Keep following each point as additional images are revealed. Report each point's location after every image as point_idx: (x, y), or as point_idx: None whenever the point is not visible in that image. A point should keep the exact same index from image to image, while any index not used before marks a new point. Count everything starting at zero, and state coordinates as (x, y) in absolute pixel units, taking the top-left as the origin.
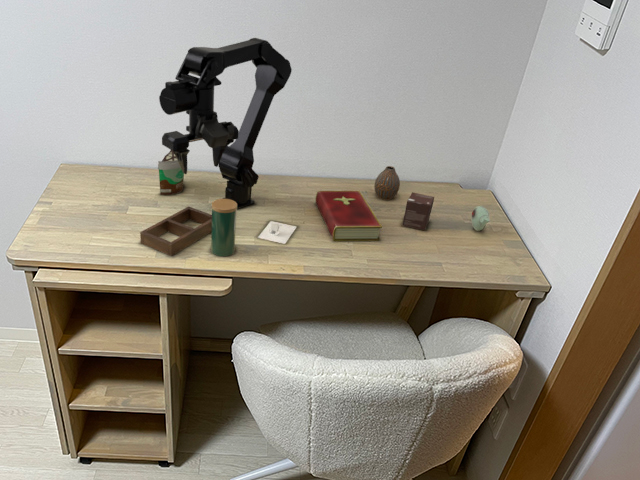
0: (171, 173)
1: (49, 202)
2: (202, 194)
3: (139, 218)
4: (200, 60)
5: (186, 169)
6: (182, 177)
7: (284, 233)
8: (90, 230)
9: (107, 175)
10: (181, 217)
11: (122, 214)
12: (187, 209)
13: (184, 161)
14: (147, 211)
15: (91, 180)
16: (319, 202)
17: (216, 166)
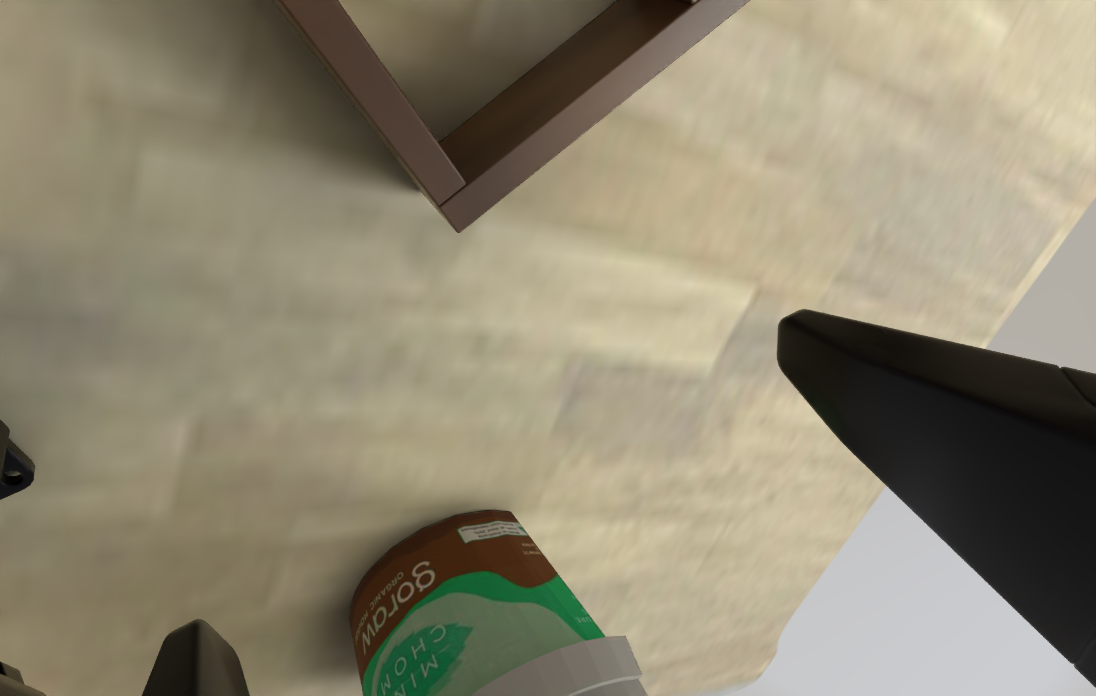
0: (512, 635)
1: None
2: (222, 546)
3: (726, 223)
4: None
5: (862, 340)
6: (392, 651)
7: None
8: (969, 122)
9: (662, 643)
10: (540, 96)
11: (775, 283)
12: (488, 172)
13: (1086, 389)
14: (652, 309)
15: (732, 592)
16: None
17: (198, 622)
